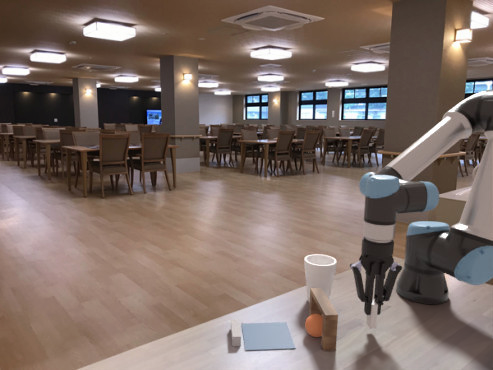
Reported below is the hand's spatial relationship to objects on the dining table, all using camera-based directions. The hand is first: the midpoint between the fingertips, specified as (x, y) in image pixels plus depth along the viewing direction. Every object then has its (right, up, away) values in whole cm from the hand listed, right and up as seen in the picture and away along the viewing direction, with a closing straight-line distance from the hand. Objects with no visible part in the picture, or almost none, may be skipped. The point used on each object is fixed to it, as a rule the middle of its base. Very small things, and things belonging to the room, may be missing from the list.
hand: (371, 325), depth 104 cm
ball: (-15, +1, -2) cm, 15 cm away
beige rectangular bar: (-35, -2, -3) cm, 35 cm away
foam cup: (-11, +1, +17) cm, 20 cm away
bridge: (-13, -2, -1) cm, 13 cm away
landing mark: (-27, -2, -2) cm, 27 cm away
